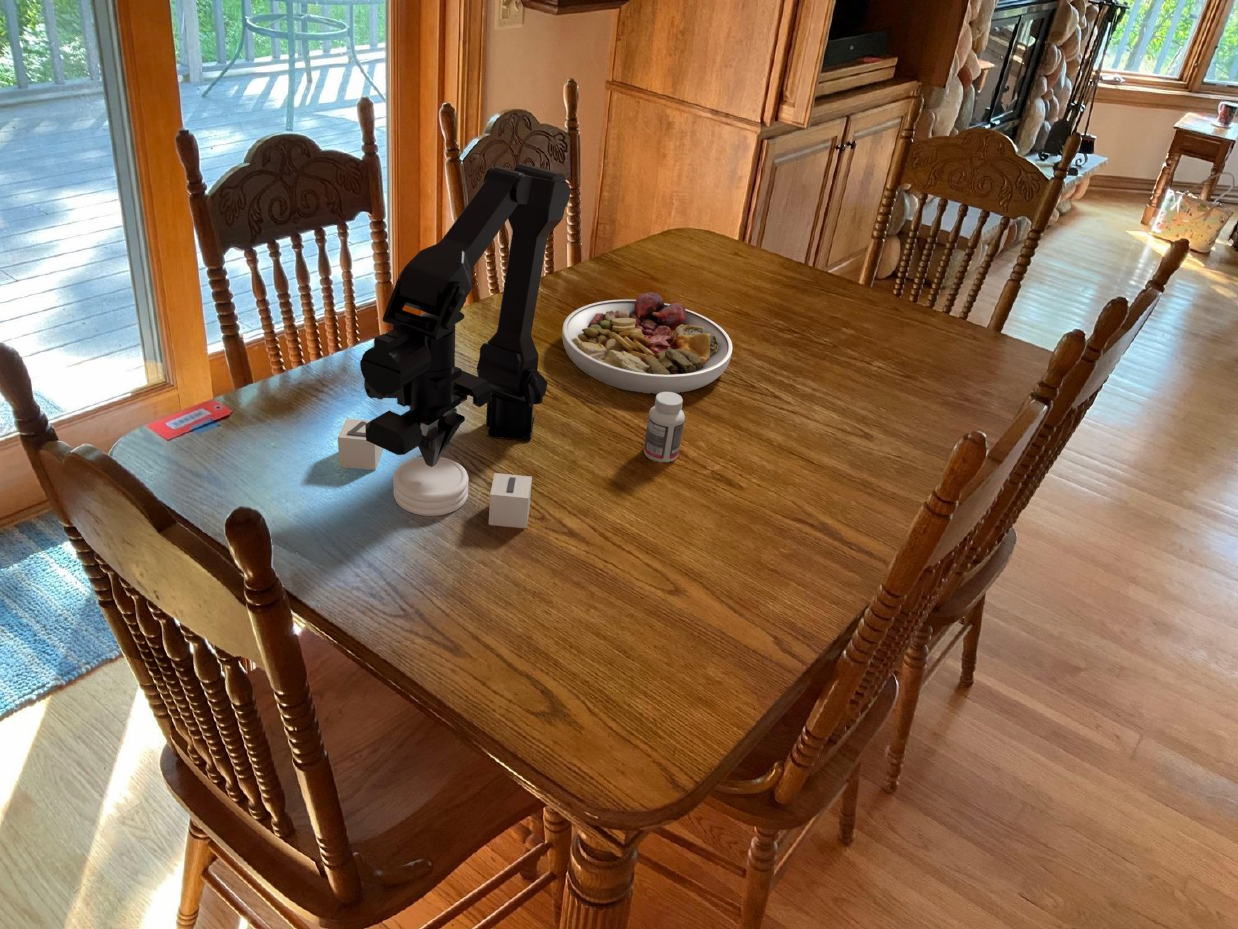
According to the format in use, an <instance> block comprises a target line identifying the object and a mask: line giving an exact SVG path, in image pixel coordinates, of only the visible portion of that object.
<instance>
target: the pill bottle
mask: <svg viewBox="0 0 1238 929" xmlns="http://www.w3.org/2000/svg"><path fill="white" fill-rule="evenodd" d="M654 400H655V401H654V406H652V407H651V408H650V409H649V411H648V416H647V424H646V430H645V438H644V445H643V453H644V455H645V456H646V458H648V459H649V460H651V461H653V460H654V462H656V461H658V462H657V463H662V462H666V463H670V461H671V462H673V461H675V460H677V458H678V457H679V453H680V449H681V443H682V435H683V430H684V425H685V418H686V417H685V413H684V411H683V410H682V408H683V403H684V400H683V397H682V396H681V395H680V394H679V393H673V392H661V393H659V394H656V396H655V399H654Z"/></svg>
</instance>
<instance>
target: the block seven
mask: <svg viewBox="0 0 1238 929" xmlns="http://www.w3.org/2000/svg"><path fill="white" fill-rule="evenodd" d="M370 421H371V420H368V419H367V420H365V419H356V418H346V419H345V421H344V423H343V425H342V428H341V430H340V431H339V433H338V436H337V444H338V445H337V448H338V449H337V450H338V464H339V466H338V467H339V468H345V469H346V468H347V469H357V470H358V469H359V470H367V471H369V470H370V471H376V470H377V468H378V465H379V462H380V459H381V458H382V454H383V452H384V449H383V448H381V447H379V446H377V445H375V444H372V443H370V442H368V441H366V431H365V424H367V423H368V422H370Z"/></svg>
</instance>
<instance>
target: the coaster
mask: <svg viewBox="0 0 1238 929" xmlns="http://www.w3.org/2000/svg"><path fill="white" fill-rule="evenodd" d="M392 478H393V480H392V481H393V496H394V497H393V498H394V500H395V501H396V503H397V505H398V506H399V507H400V508H401V509H403V510H405V511H407V512H408V513H411V514H415V515H418V516H425V517H431V516H432V517H437V516H444V515H447V514H451V513H453V512H456V511H457V510H459V509H460V508H461V507H462V506H463V505H464V504H465V503H466V502H467V500H468V497H469V478H470V477H469V474H468V472H467V470H466V469H465V468H464V467H463V466H462V465H461V464H460V463H458V462H457V461H454V459H453V460H452V459H450V458H447V457H443V456H441V457H440V459H439V460H438V462H437V464H436V465H435V466H433V467H430V466H428V465H426V463H425V461H424V459H423V456H421V457H420V456H419V457H416V458H412V459H409V460H407V461H405V462H403V463H402V464H401V465H399V466H398V467H397V469H395V472H394V473H393V477H392Z"/></svg>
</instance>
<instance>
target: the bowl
mask: <svg viewBox="0 0 1238 929" xmlns="http://www.w3.org/2000/svg"><path fill="white" fill-rule="evenodd" d="M729 336H730V335H729V334H728V333H727V332H726V331H725V330H724V329H723V328H722V327H721V326H720V325H718V324H717V323H716V322H714V321H713V320H711V319H709V318H707V317H706V316H704V315H702V314H699V313H697V312H695V311H692V310H690V309H687V308H685V305H683V304H681V303H680V302H673V303H671V304H670V303H665V302H664V299H663V297H662V296H661V295H660V294H658V293H657V292H654V291H653V292H652V291H649V292H643V293H642V294H640V295H638V297H636V299H611V300H604V301H597V302H593V303H590V304H586V305H583V306H582V307H579V308H577V309H576V310H574V311H573V312H571V313H570V314H569V315H568V316H567V317H566V318H565V320H564V321H563V324H562V332H561V337H562V343H563V347H564V349H565V353H566V354H567V356H568V357H569V359H570V360H571V361H572V362H573V364H575V366H576V367H577V368H578V369H579V370H581V371H582V372H583V373H584V374H586V375H587V376H588V375H589V377H591V378H593V379H595V380H597V381H599V382H601V383H603V384H606V385H609V386H611V387H615V388H617V389H622V390H625V391H630V392H634V391H635V393H641V392H642V393H643V394H650V393H653V394H654V395H657V394H659V393H661V392H673V393H676V394H680V392H681V393H685V392H690V391H694V390H697V389H700V388H703V387H705V386H707V385H709V384H711V383H713V382H714V381H715V380H716V379H718V378H719V377H721V375H722V374H723V373H724V372H725V371H726V370H727V367H728V366H729V363H730V362H731V358H732V353H733V342H732V340H731V338H730V337H729ZM642 393H641V394H642ZM653 394H652V395H653Z"/></svg>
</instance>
